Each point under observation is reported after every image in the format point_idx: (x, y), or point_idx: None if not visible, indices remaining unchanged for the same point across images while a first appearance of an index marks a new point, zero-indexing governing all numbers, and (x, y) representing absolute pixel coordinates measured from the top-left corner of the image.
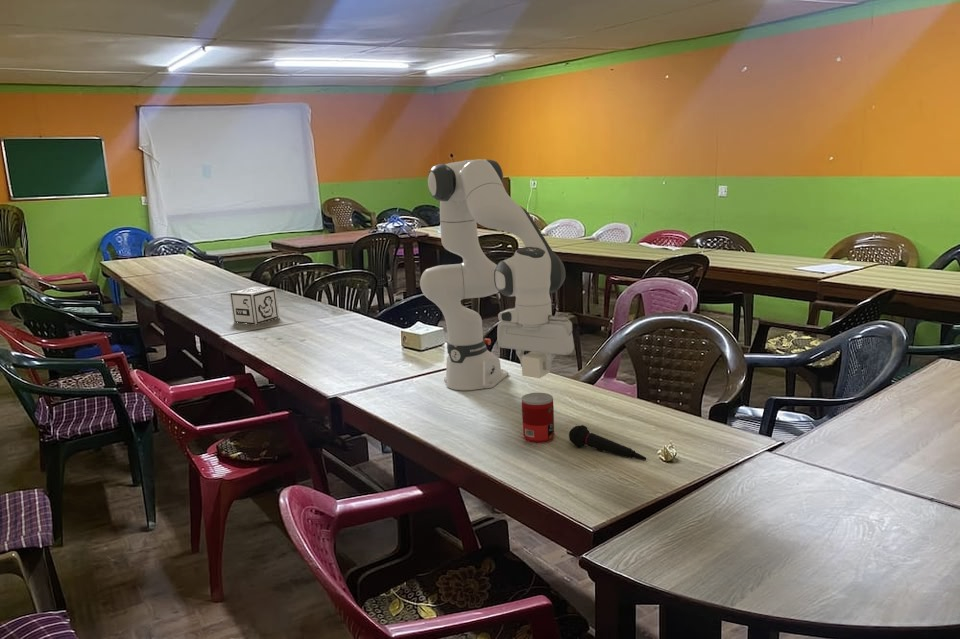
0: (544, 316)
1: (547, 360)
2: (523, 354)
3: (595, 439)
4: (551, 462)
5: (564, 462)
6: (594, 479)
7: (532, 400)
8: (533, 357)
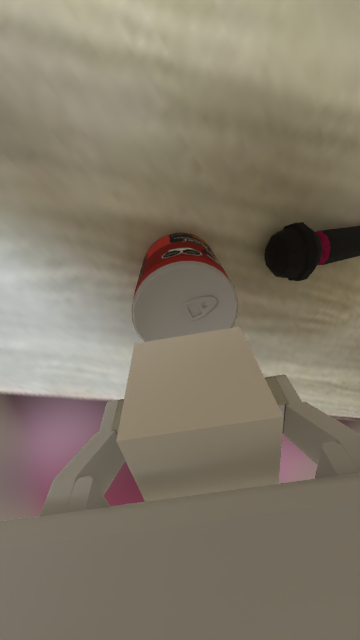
0: None
1: (309, 453)
2: (94, 462)
3: (342, 258)
4: (265, 335)
5: (286, 323)
6: (357, 340)
7: (182, 331)
8: None
